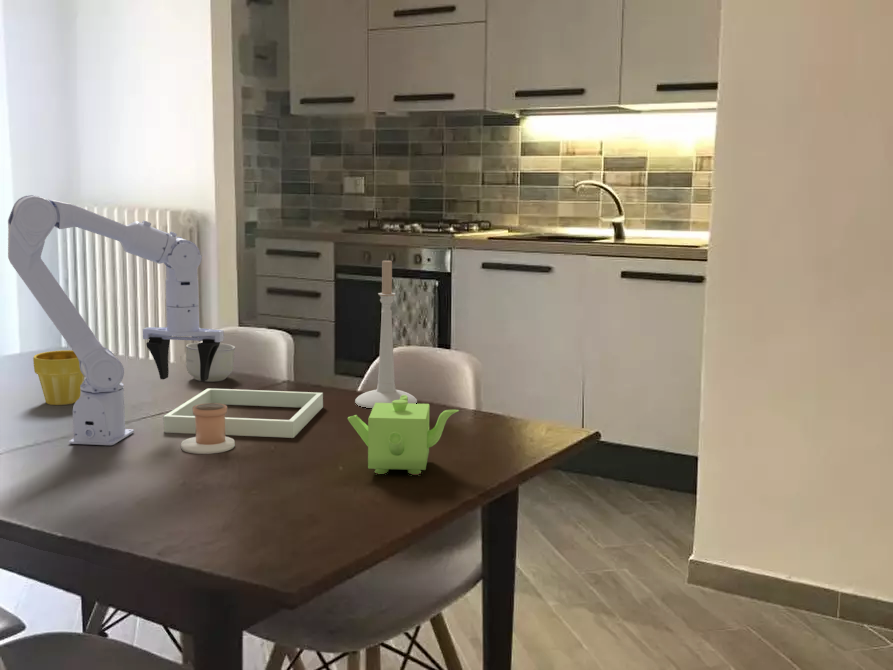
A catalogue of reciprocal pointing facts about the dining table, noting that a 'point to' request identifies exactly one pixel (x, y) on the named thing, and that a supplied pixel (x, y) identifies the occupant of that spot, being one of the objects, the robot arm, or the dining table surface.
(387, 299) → the candlestick
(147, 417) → the dining table surface
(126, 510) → the dining table surface
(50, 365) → the plant pot
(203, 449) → the saucer
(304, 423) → the rectangular frame
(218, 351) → the teacup
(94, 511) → the dining table surface
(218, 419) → the terracotta pot
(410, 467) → the kettle
